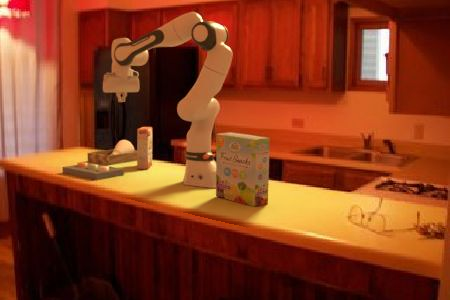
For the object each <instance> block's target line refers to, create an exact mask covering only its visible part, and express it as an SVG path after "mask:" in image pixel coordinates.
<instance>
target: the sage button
mask: <svg viewBox="0 0 450 300" xmlns="http://www.w3.org/2000/svg"><path fill="white" fill-rule="evenodd" d="M98 165H99V164H97V163H93V164H89V165H88V169H98Z"/></svg>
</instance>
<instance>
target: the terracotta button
mask: <svg viewBox="0 0 450 300" xmlns="http://www.w3.org/2000/svg"><path fill="white" fill-rule="evenodd" d="M88 163H89V162H88V161H87V162H86V161H83V162H77V164H76V165H77V167H81V168H82V167H88Z"/></svg>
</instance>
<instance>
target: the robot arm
mask: <svg viewBox="0 0 450 300" xmlns="http://www.w3.org/2000/svg"><path fill="white" fill-rule="evenodd" d="M229 33H230V32H229V30H228V28H227V27H226V26H225V25H223V24H222V23H217V22H216V21H210V20H209V21H208V20H203V18H202V16H201V15H200V14H199V13H198V12H196V11H190V12H187V13H184V14H181V15H179V16H178V17H176V18H174V19H172V20H170V21H169V22H167V23H165V24H163V25H162V26H160V27H158V28H156V29H155V30H152V31H150V32H148V33H146V34H144V35H142V36H140V37H137V38H136V39H134V40H132V41H131V40H130V39H129V38H127V37H116V38H115V39H114V40H112V44H111V60H112V62H111V72H106V73H105V74H104V75H103V82H102V92H103V93H115V95H116V97H117V102H118V103H123V102H124V103H125V102H126V98H127V96H128V93H138V92H139V91H140V79H139V76H140V75H139V74H140V73H139V72H138V71H135V70H134V69H132V68H131V67H133V66H134V67H135V66H137V67H140V66H144V65H146V64H147V63H148V62H149V61H148V60H149V57H150V55H149V54H150V53H149V50H151V49H153V48H154V49H155V48H168V47H169V48H171V47H172V48H173V47H178V46H180V45H184V43H187V42H188V41H190V40H193V42H194V43H195V44H196V45H197V46H198V47H199V48H201V50H202V51H204V52H207V54H206V55H207V56H206V58H205V60H204V62H203V66H202V68H201V70H200V72H199V75H198V77H197V79H196V81H195V83H194V85H193V86H192V87H191V89H190V90H189V91H188V93H187V94H186V95H185V97H183V98H182V99H181V100H180V101H179V102H178V103H177V107H176V110H177V111H176V112H177V115H178V116H179V117H180V119H182V120H184V121H186V122H190V123H191V125H190V127H189V128H190V129H189V130H188V131H187V134H186V150H185V160H186V161H185V169H184V171H185V172H184V176H183V178H182V182H183V185H185V186H194V187H201V188H208V189H216V160H215V158H214V157H215V156H216V153H213V152H212V133H213V128H214V124H215V120H216V118H217V117H218V116H217V115H218V114H219V112H220V110H221V106H220V102H219V101H218V100H217V99H216V98H215V96H216V95H217V94H218V93H219V92H220V91H221V90H222V87H223V86H224V85H223V84H224V83H225V81H226V78H227V75H228V73H229V70H230V68H231V64H232V60H233V56H234V55H233V50H232V49H231V47H229V46H228V45H226V44H227V43H228V41H229V39H230V38H229V37H230V34H229ZM121 95H122V96H121Z"/></svg>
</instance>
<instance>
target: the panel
mask: <svg viewBox="0 0 450 300" xmlns="http://www.w3.org/2000/svg"><path fill="white" fill-rule="evenodd" d="M87 163H88V165H89V164H94V163H92V162H87ZM100 166H105V165H103V164H98V167H100ZM62 174H64V175H65V174H66V175H71V176H75V177H80V178H84V179H90V180H95V181H99V180H100V181H101V180H104V179H106V180H107V179H111V178H116V177H122V176H124V174H125V170H124V168H120V167H114V166H109V171H104V172H102V171H98V169H88V167H82V168H81V167H77V164H75V165H67V166H62Z"/></svg>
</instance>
